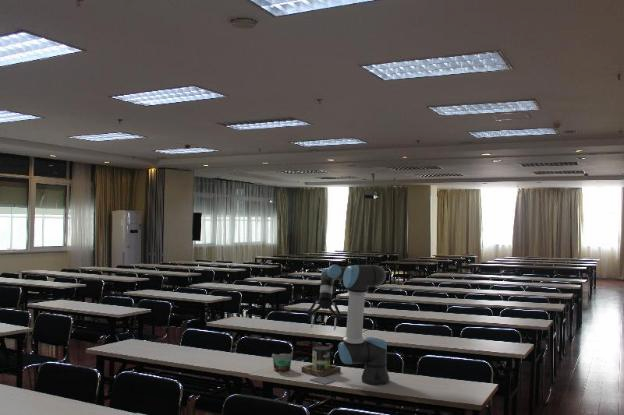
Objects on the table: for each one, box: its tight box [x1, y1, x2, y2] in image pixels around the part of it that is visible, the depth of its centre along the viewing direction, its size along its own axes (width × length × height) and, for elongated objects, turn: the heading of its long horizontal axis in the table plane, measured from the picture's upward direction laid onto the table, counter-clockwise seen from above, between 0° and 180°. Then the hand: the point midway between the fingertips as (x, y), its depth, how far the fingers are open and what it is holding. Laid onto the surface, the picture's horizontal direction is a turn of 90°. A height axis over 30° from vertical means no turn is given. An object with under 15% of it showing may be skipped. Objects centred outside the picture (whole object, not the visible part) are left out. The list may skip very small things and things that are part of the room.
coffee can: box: [311, 345, 331, 371], centre depth 340 cm, size 10×10×14 cm
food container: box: [271, 352, 293, 373], centre depth 342 cm, size 12×6×10 cm, turn 105°
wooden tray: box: [301, 364, 342, 378], centre depth 340 cm, size 16×16×3 cm
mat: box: [309, 376, 336, 386], centre depth 322 cm, size 11×9×1 cm
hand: (323, 328), depth 344 cm, fingers open, 13 cm apart
